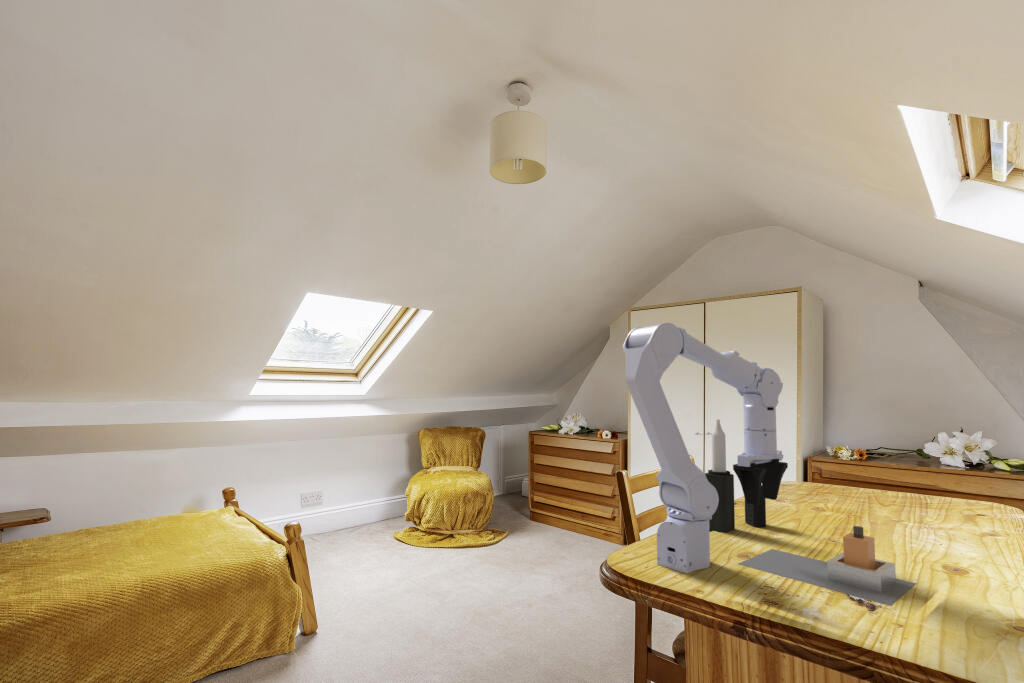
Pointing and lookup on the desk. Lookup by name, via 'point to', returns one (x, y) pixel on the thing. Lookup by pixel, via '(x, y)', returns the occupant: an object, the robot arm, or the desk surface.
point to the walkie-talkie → (756, 512)
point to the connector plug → (859, 549)
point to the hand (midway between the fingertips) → (761, 501)
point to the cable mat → (819, 575)
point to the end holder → (862, 574)
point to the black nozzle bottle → (721, 484)
